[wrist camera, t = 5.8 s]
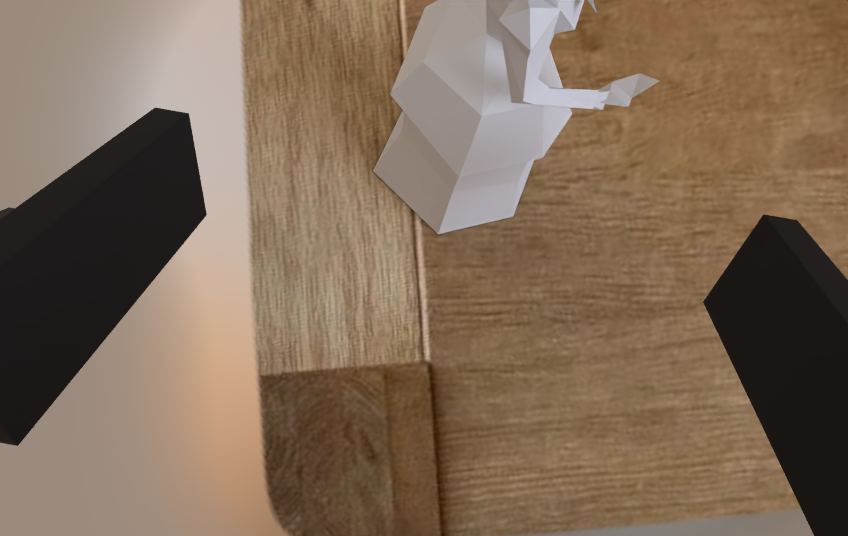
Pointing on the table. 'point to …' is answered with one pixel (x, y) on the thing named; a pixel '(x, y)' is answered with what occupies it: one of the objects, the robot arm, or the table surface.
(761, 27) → the table surface
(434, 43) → the figurine
